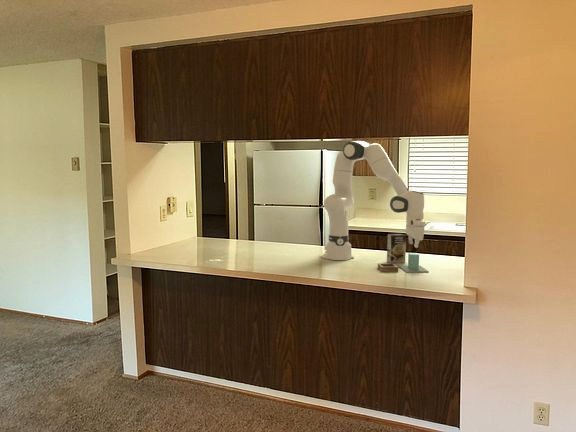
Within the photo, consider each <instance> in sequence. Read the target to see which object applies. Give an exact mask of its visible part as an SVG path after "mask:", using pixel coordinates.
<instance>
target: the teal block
mask: <svg viewBox="0 0 576 432" xmlns="http://www.w3.org/2000/svg"><path fill="white" fill-rule="evenodd" d="M407 257H408V258H407V259H408V260H407V266H408V268H409V269H419V266H420V254H419V253H417V252H409V253H408V256H407Z"/></svg>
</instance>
